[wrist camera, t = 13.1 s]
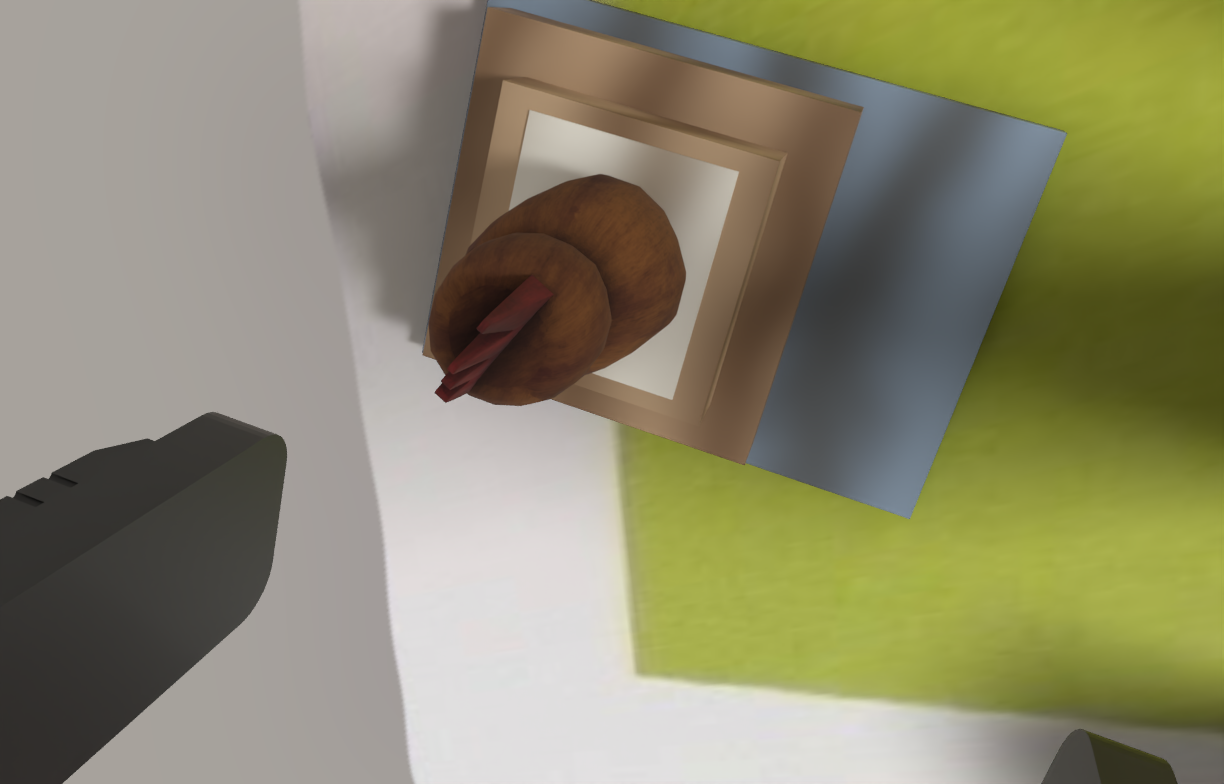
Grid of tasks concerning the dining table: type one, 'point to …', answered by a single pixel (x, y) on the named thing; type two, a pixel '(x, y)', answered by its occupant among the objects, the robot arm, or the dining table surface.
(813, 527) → the dining table surface
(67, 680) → the robot arm
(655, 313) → the wooden figurine
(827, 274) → the board
